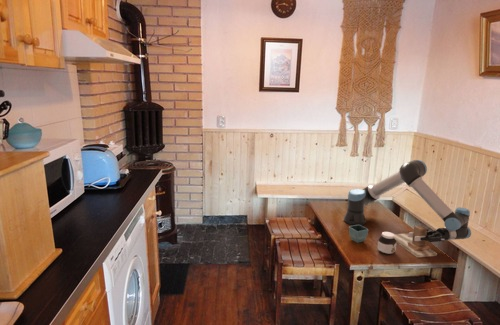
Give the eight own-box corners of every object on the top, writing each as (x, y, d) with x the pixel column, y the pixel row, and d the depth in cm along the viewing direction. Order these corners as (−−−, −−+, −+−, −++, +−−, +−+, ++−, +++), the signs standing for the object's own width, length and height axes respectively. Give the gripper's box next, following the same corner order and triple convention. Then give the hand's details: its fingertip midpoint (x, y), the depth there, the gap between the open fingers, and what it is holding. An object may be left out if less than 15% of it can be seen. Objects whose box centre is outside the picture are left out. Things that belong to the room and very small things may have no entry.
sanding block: (415, 250, 197) (417, 230, 195) (407, 245, 204) (410, 225, 201) (428, 249, 199) (431, 229, 196) (420, 244, 206) (423, 224, 203)
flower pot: (347, 239, 216) (348, 226, 214) (358, 237, 219) (359, 224, 217) (356, 245, 208) (357, 231, 206) (367, 242, 211) (368, 229, 209)
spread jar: (384, 256, 193) (386, 238, 191) (370, 248, 204) (372, 230, 201) (400, 253, 198) (402, 234, 196) (385, 244, 208) (387, 227, 206)
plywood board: (417, 257, 193) (417, 255, 193) (388, 236, 220) (388, 234, 219) (436, 255, 195) (437, 253, 195) (406, 235, 222) (406, 233, 222)
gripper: (456, 246, 196) (421, 249, 191) (434, 233, 213) (401, 236, 208) (458, 234, 194) (422, 237, 190) (435, 222, 211) (402, 224, 207)
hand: (411, 236), depth 199 cm, fingers closed on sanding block, 5 cm apart
